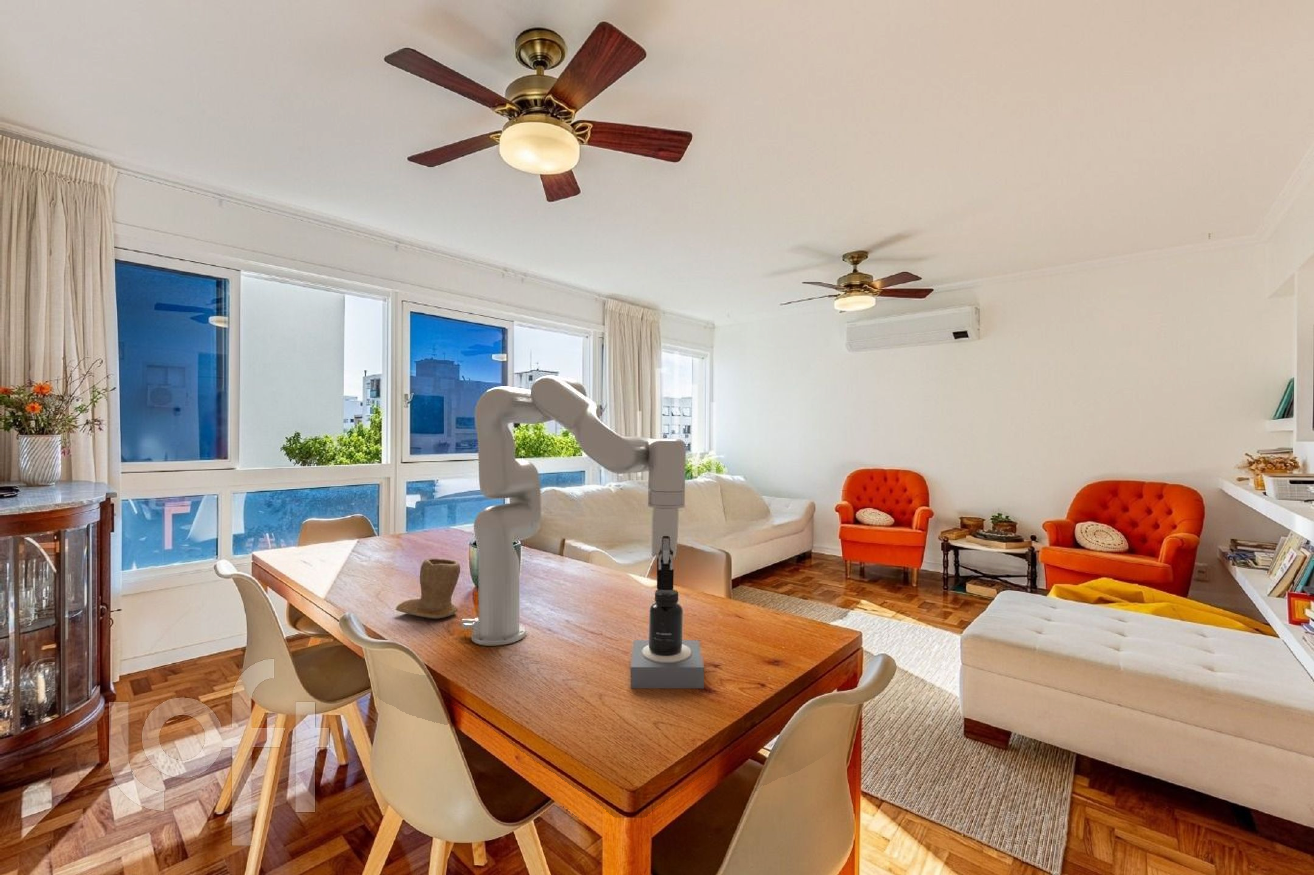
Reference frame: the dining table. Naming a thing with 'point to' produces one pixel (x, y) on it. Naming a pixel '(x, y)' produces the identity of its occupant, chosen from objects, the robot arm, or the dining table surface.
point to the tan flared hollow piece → (434, 590)
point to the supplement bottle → (665, 624)
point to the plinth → (667, 667)
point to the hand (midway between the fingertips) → (664, 582)
